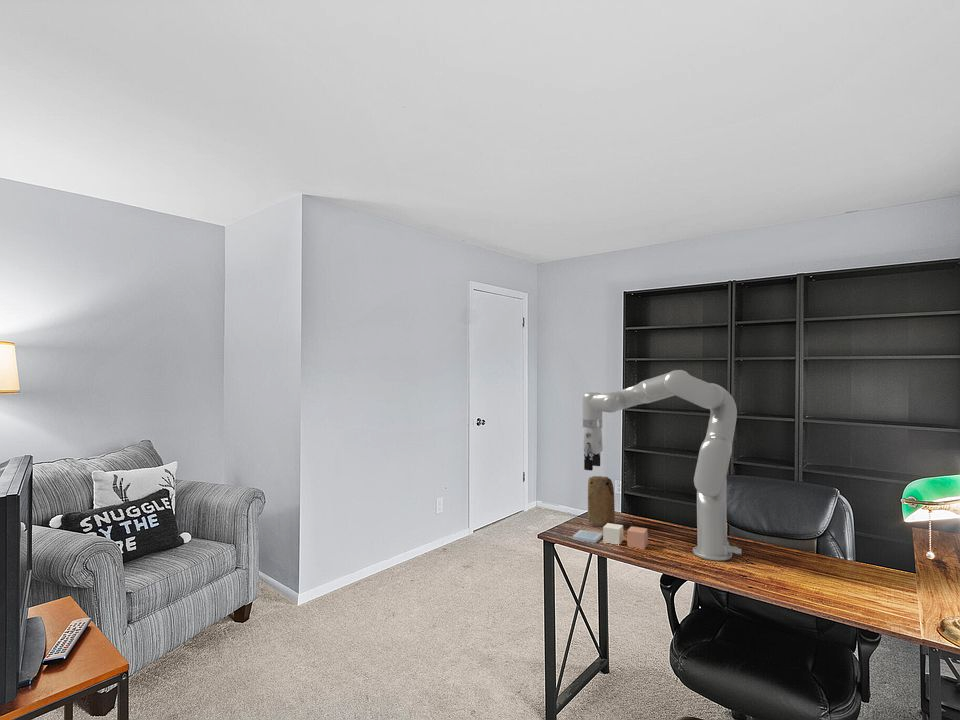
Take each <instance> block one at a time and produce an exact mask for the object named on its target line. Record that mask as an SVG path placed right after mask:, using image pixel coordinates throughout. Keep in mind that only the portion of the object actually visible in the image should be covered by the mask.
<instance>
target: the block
mask: <svg viewBox="0 0 960 720" xmlns="http://www.w3.org/2000/svg"><path fill="white" fill-rule="evenodd" d="M614 489H615V488H614V485H613V481H612V480H611V478H609V477H608V476H601V475H600V476H597V475H596V476H595V475H593V476H591V477H588V480H587V514H588V515H587V516H588V522H589V524H590V525H591V526H594V527H598V526H600V527H601V528H603V527H604V526H605V525H606V524H607V523H611V524H615V522H616V520H615V519H616V517H615V516H616V515H615V513H616V512H615V490H614Z"/></svg>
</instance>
